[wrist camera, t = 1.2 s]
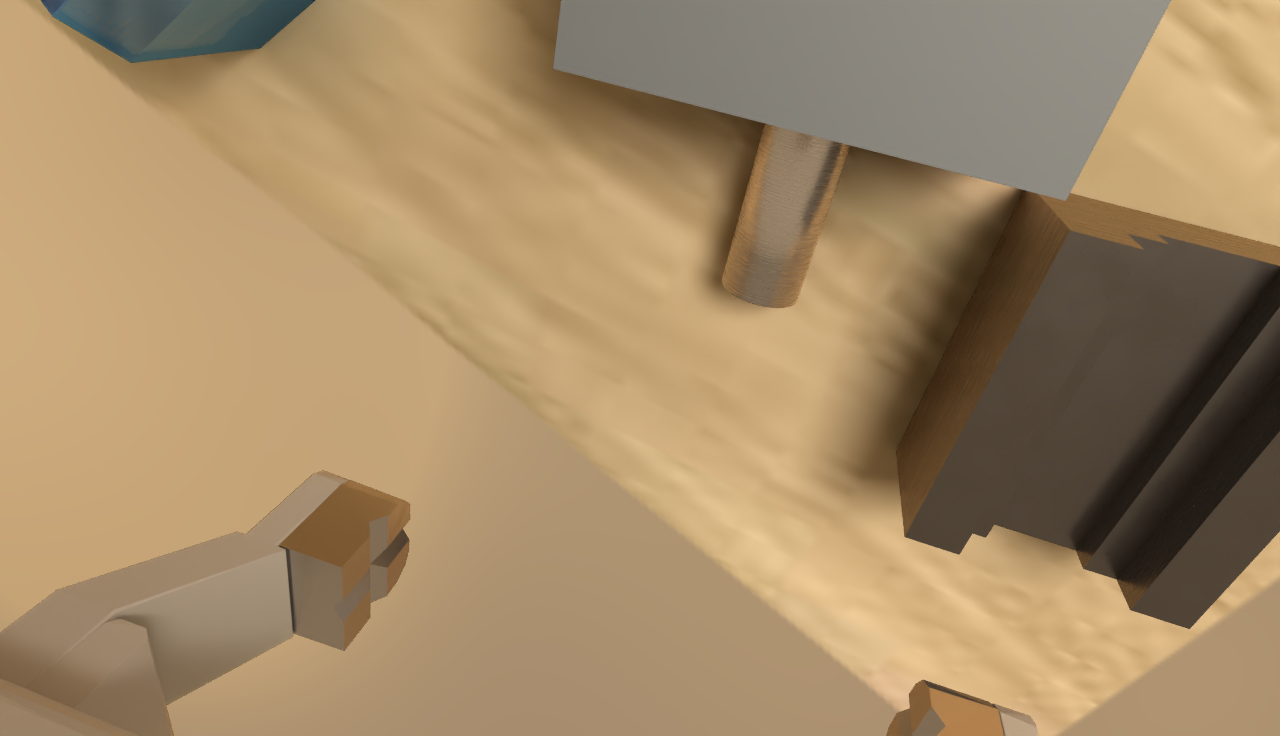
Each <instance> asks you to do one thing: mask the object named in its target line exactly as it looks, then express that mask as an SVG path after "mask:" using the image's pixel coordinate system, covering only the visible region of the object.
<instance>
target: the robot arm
mask: <svg viewBox="0 0 1280 736" xmlns="http://www.w3.org/2000/svg"><path fill="white" fill-rule="evenodd" d="M409 520H410V504H409V503H408V502H406V501H404V500H402V499H399V498H397V497H394V496H391V495H389V494H386V493H383V492H381V491H378V490H375V489H373V488H370V487H367V486H365V485H362V484H360V483H357V482H354V481H352V480H348V479H345V478H342V477H340V476H337V475H334V474H332V473H329V472H326V471H320V472H318V473H315V474H313V475H311V476H310V477H309V478H308V479H307V480H306V481H305V482H304V483H302V484H301V485H300V486H299V487H298V488H297V489H296V490H294V491H293V492H292V493H291V494H290V495H289V496H288V497H287V498H286V499H284V500H283V501H282V502H281V503H280V504H279V505H278V506H277V507H276V508H275V509H273V510H272V511H271V512H270V513H269V514H268V515H267V516H265V517H264V518H263V519H262V520H261V521H260V522H259V523H258V524H257V525H256V526H254V527H253V528H252V529H251V530H250V531H249V532H248V533H247V534H242V533H240V532H234V533H231V534H228V535H225V536H222V537H219V538H216V539H212V540H209V541H206V542H203V543H200V544H197V545H194V546H191V547H188V548H185V549H182V550H179V551H175V552H172V553H169V554H166V555H163V556H160V557H157V558H154V559H151V560H148V561H144V562H141V563H138V564H136V565H132V566H129V567H126V568H123V569H120V570H117V571H113V572H111V573H107V574H104V575H101V576H98V577H95V578H92V579H89V580H86V581H82V582H79V583H77V584H73V585H70V586H67V587H64V588H61V589H58V590H56V591H55V592H53V593H52V594H50V595H49V596H48V597H46V598H45V599H44V600H42V601H41V602H40V603H38V604H37V605H36V606H35V607H33V608H32V609H31V610H29V611H28V612H27V613H25V614H24V615H23V616H21V617H20V618H19V619H17V620H16V621H15V622H13V623H12V624H11V625H9V626H8V627H7V628H6V629H4V630H3V631H1V632H0V736H174V734H173V730H172V726H171V722H170V718H169V714H168V710H167V707H166V705H168V704H170V703H172V702H174V701H175V700H177V699H179V698H181V697H183V696H185V695H186V694H188V693H190V692H192V691H194V690H196V689H198V688H199V687H201V686H203V685H205V684H206V683H209V682H210V681H212V680H214V679H216V678H218V677H220V676H222V675H223V674H225V673H227V672H229V671H231V670H233V669H235V668H236V667H238V666H240V665H242V664H243V663H246V662H247V661H249V660H251V659H253V658H255V657H257V656H258V655H260V654H262V653H264V652H266V651H268V650H270V649H271V648H273V647H275V646H277V645H279V644H281V643H283V642H284V641H286V640H288V639H290V638H292V637H293V633H294V634H297V635H300V636H303V637H306V638H309V639H311V640H314V641H317V642H320V643H323V644H326V645H329V646H332V647H334V648H337V649H340V650H343V651H345V649H346V648H347V647H348V646H349V644H350V643H351V642H352V641H353V639H354V638H355V637H356V635H357V634H358V633H359V631H360V630H361V629H362V627H363V626H364V625H365V624H366V622H367V621H368V620H369V618H370V603H371V602H374V601H376V600H378V599H380V598H383V597H385V596H387V595H388V593H389V592H390V591H391V589H392V588H393V586H394V585H395V584H396V582H397V581H398V579H399V577H400V575H401V572H402V570H403V568H404V566H405V564H406V560H407V556H408V552H409V538H408V537H407V535H406V534H405V532H404V530H403V527H404V526H405V525H406V524H407V523H408V521H409ZM909 702H910V709H907V710H904V711H901V712H898V713H897V714H896V716H895V717H894V719H893V721H892V723H891V724H890V726H889V728H888V732H887V736H1039V735H1038V731H1037V727H1036V724H1035V722H1034V721H1033V720H1032V718H1031V717H1030V716H1028V715H1025V714H1022V713H1019V712H1017V711H1014V710H1011V709H1008V708H1005V707H1002V706H999V705H996V704H991V703H990V702H988V701H985V700H982V699H979V698H976V697H973V696H970V695H967V694H964V693H961V692H958V691H955V690H952V689H949V688H946V687H943V686H940V685H937V684H934V683H931V682H928V681H925V680H921V681H920V682H918V683H916V684H915V686H914V687H913V689H912V690H911V692H910V693H909Z"/></svg>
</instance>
